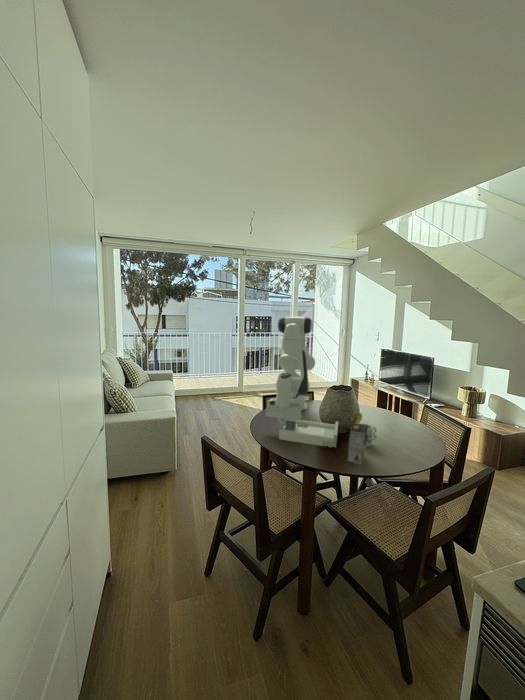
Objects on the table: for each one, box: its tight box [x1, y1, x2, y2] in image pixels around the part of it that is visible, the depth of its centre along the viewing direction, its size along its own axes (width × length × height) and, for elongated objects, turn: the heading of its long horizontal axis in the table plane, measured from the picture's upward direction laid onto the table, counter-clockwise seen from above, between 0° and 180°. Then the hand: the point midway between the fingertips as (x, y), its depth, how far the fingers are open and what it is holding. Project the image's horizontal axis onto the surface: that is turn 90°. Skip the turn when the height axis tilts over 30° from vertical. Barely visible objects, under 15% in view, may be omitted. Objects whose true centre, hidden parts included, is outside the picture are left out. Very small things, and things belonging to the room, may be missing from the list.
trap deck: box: [278, 419, 339, 449], centre depth 170 cm, size 20×30×7 cm, turn 74°
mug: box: [359, 422, 378, 448], centre depth 162 cm, size 12×9×10 cm
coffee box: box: [347, 424, 368, 465], centre depth 144 cm, size 9×6×16 cm
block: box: [285, 420, 296, 431], centre depth 172 cm, size 5×5×4 cm
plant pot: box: [351, 411, 363, 428], centre depth 183 cm, size 10×10×10 cm
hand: (282, 425), depth 174 cm, fingers closed
